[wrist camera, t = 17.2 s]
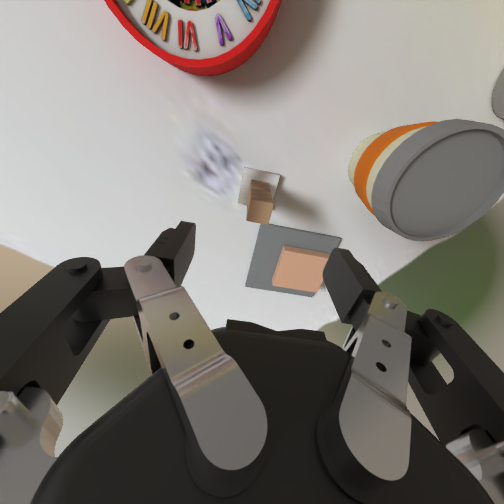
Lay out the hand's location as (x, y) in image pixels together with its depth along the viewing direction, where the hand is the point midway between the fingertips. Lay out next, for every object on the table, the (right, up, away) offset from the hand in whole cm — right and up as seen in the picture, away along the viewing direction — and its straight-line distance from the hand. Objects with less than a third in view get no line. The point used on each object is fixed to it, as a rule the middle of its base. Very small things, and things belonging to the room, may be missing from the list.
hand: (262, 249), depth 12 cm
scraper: (0, +11, +25) cm, 27 cm away
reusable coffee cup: (+20, +14, +22) cm, 33 cm away
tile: (+10, -4, +32) cm, 33 cm away
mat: (+7, -3, +33) cm, 34 cm away
